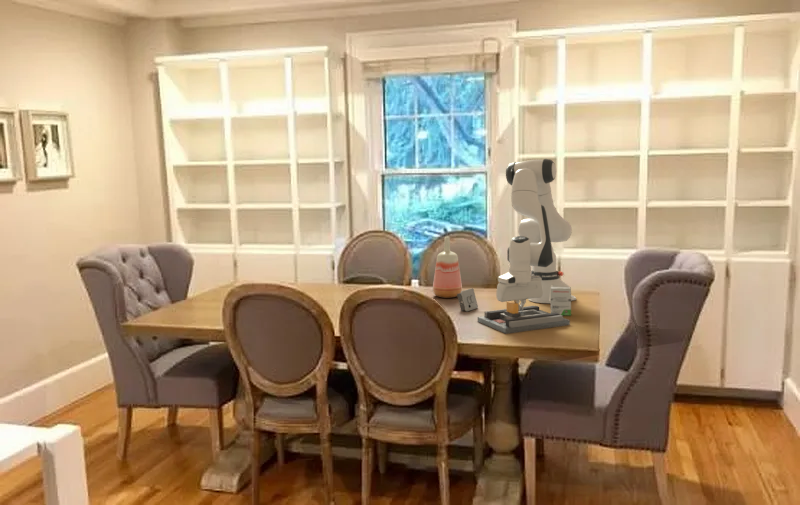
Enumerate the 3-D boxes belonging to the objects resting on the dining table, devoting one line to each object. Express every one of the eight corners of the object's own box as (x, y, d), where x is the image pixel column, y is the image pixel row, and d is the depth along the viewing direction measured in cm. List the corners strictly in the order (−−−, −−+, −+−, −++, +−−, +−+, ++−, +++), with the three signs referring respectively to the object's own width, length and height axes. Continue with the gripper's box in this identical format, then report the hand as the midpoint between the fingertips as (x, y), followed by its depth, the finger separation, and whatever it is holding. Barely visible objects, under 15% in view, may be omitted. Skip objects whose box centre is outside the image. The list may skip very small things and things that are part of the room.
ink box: (571, 313, 288) (571, 286, 287) (571, 315, 284) (571, 288, 282) (550, 312, 290) (550, 286, 289) (550, 315, 286) (550, 288, 284)
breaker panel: (538, 313, 289) (538, 304, 288) (569, 324, 268) (569, 315, 268) (477, 321, 277) (477, 312, 277) (505, 333, 257) (505, 323, 257)
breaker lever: (512, 317, 274) (512, 300, 273) (520, 320, 269) (520, 303, 268) (504, 318, 273) (504, 301, 272) (512, 321, 267) (512, 304, 266)
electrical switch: (467, 312, 295) (465, 291, 294) (457, 311, 298) (455, 291, 297) (478, 308, 302) (476, 288, 301) (468, 308, 305) (467, 288, 305)
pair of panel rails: (533, 310, 287) (533, 304, 286) (563, 320, 267) (563, 314, 267) (484, 316, 278) (484, 310, 277) (511, 327, 258) (511, 321, 258)
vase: (467, 295, 332) (466, 236, 327) (453, 300, 320) (452, 239, 315) (441, 292, 339) (441, 234, 335) (427, 297, 327) (426, 237, 323)
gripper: (537, 273, 276) (536, 306, 278) (494, 277, 268) (494, 311, 270) (545, 275, 270) (545, 309, 272) (502, 280, 263) (502, 314, 264)
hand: (519, 310), depth 271 cm, fingers closed
